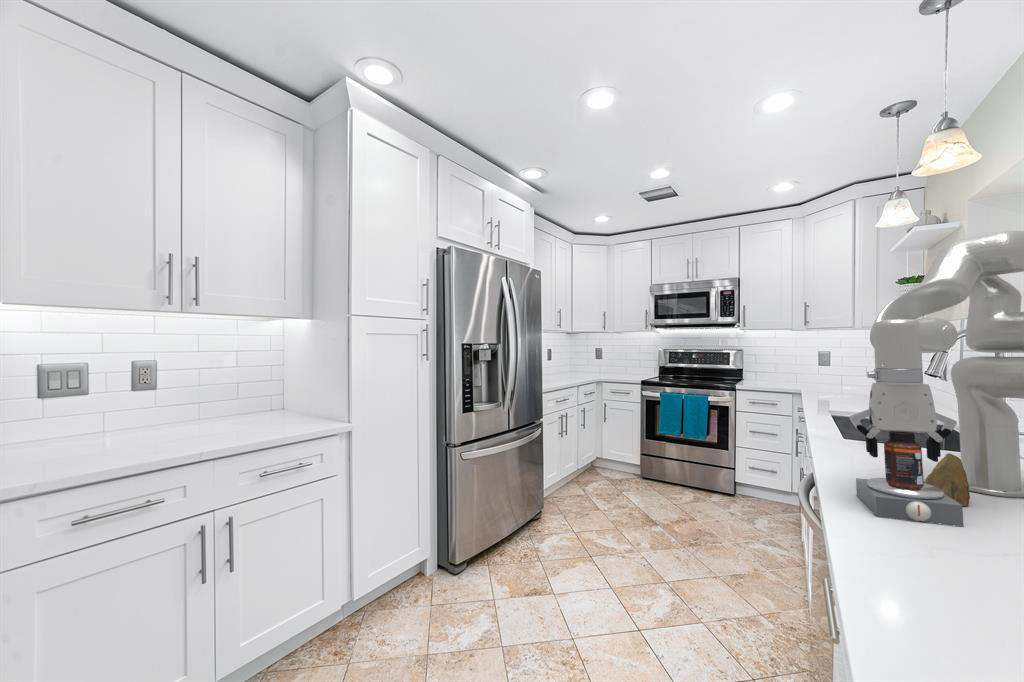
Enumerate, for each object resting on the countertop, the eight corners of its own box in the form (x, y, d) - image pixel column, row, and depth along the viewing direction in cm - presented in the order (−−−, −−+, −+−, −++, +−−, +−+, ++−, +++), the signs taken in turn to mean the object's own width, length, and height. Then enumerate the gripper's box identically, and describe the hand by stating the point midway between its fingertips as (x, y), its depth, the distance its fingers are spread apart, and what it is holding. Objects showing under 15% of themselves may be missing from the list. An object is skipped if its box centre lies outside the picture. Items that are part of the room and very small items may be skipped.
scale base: (856, 495, 100) (856, 478, 100) (930, 503, 94) (929, 484, 94) (877, 517, 87) (876, 497, 87) (964, 527, 81) (963, 506, 81)
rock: (988, 501, 88) (987, 483, 95) (950, 464, 92) (952, 450, 98) (931, 520, 95) (934, 502, 102) (898, 485, 99) (903, 470, 105)
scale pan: (859, 478, 99) (859, 475, 99) (928, 485, 93) (928, 481, 93) (877, 494, 88) (877, 490, 88) (956, 502, 83) (956, 498, 83)
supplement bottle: (931, 490, 87) (928, 434, 88) (897, 489, 88) (895, 434, 89) (910, 482, 93) (908, 429, 93) (879, 481, 94) (876, 429, 95)
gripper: (853, 377, 92) (856, 458, 91) (962, 378, 84) (967, 466, 84) (843, 376, 98) (847, 451, 98) (944, 376, 91) (948, 457, 90)
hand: (902, 458), depth 91 cm, fingers open, 9 cm apart
